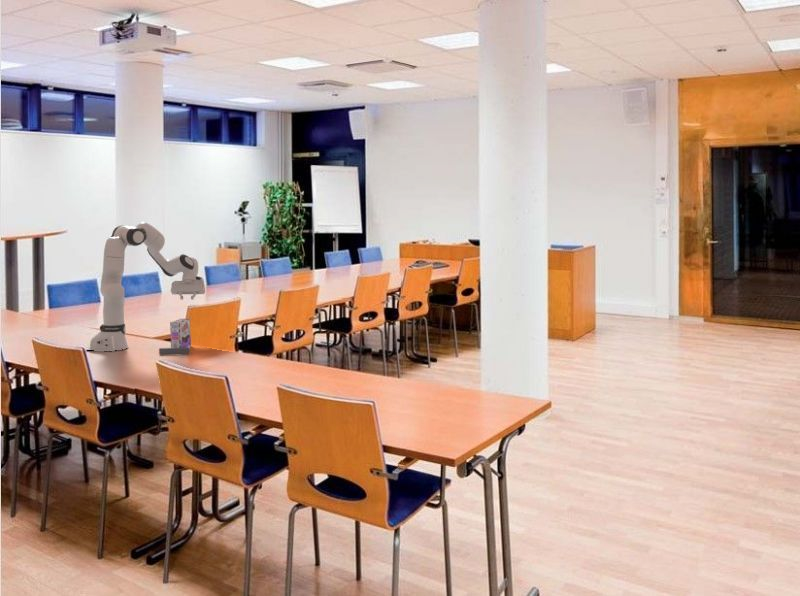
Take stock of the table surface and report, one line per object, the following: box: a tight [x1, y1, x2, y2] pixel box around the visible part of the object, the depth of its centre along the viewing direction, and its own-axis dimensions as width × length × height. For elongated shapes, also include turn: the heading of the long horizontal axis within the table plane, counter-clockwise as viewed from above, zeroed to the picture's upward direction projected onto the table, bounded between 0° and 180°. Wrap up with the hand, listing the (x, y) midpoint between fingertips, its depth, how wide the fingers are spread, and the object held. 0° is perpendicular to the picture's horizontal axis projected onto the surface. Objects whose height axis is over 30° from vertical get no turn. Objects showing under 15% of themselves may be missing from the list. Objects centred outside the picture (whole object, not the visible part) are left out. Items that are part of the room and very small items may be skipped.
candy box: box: [169, 318, 192, 348], centre depth 425 cm, size 14×6×16 cm, turn 170°
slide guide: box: [158, 344, 192, 355], centre depth 417 cm, size 16×19×4 cm
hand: (186, 298), depth 446 cm, fingers open, 5 cm apart
